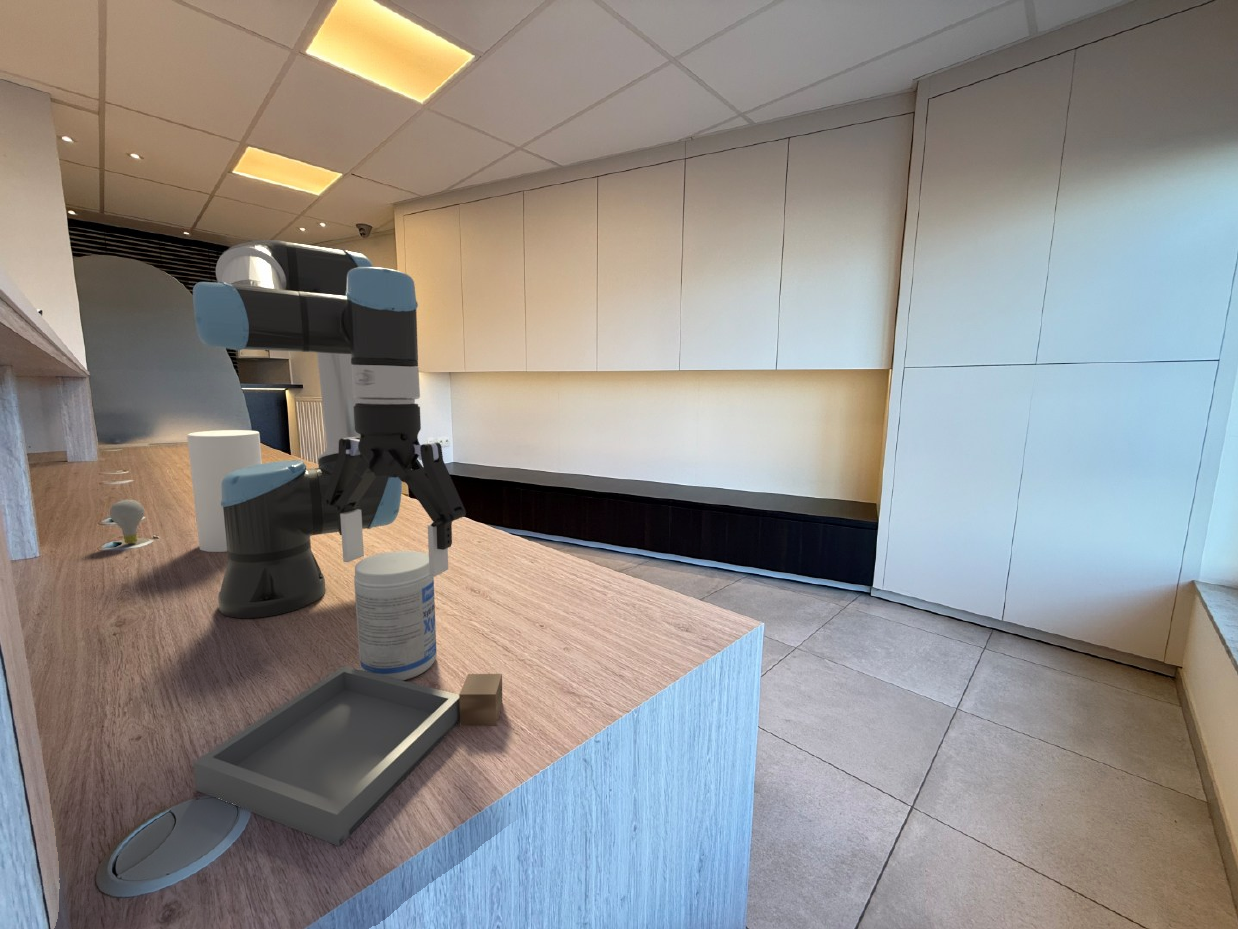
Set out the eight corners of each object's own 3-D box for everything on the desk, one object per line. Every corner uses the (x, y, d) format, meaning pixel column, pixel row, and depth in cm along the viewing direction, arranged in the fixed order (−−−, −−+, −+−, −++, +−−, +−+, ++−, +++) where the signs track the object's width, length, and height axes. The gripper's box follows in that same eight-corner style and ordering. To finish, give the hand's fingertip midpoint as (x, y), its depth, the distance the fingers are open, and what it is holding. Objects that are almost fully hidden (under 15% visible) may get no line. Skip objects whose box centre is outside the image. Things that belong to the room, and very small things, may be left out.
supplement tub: (444, 672, 67) (441, 566, 65) (365, 695, 62) (358, 581, 59) (427, 640, 75) (423, 545, 73) (355, 658, 70) (349, 556, 67)
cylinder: (256, 550, 110) (245, 436, 106) (187, 553, 107) (174, 436, 103) (276, 533, 122) (267, 430, 118) (215, 536, 119) (204, 429, 115)
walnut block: (460, 727, 57) (459, 694, 56) (468, 704, 61) (468, 674, 60) (496, 726, 57) (495, 694, 56) (502, 704, 61) (502, 673, 60)
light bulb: (131, 548, 109) (125, 503, 108) (106, 547, 109) (100, 502, 108) (155, 540, 115) (149, 497, 113) (131, 539, 115) (125, 496, 113)
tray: (196, 790, 47) (192, 762, 47) (345, 688, 63) (344, 666, 63) (339, 846, 42) (337, 815, 42) (462, 719, 58) (461, 695, 58)
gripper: (283, 398, 63) (296, 562, 66) (454, 406, 55) (459, 590, 59) (334, 397, 70) (343, 545, 73) (491, 404, 62) (494, 568, 66)
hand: (395, 565), depth 66 cm, fingers open, 13 cm apart
